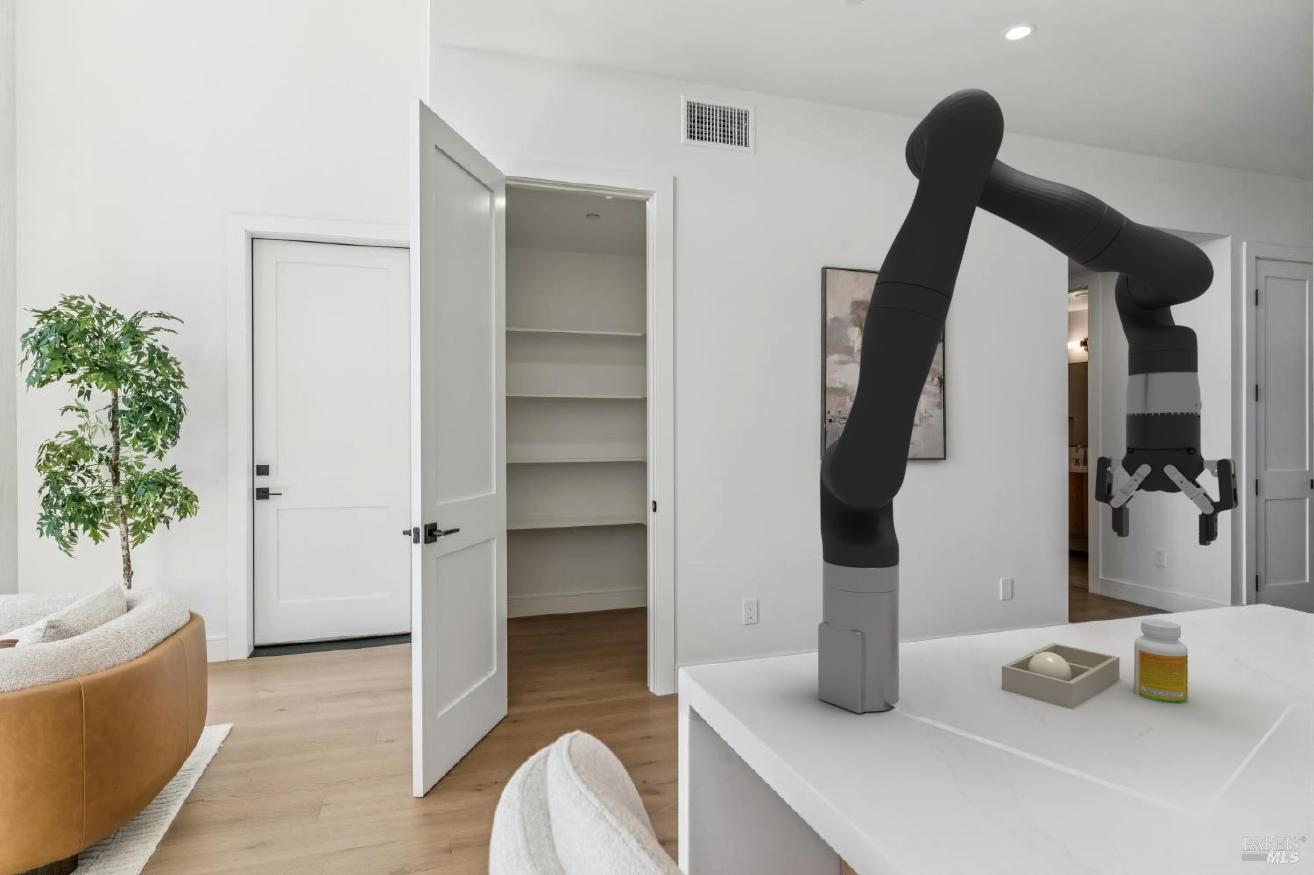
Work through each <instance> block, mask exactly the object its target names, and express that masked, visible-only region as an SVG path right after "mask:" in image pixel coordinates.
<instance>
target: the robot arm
mask: <svg viewBox="0 0 1314 875" xmlns="http://www.w3.org/2000/svg"><path fill="white" fill-rule="evenodd" d="M1004 121H1005V119H1004V116H1003V112H1002V108H1001V106H1000V104H999V103H998V101H997V100H996V98H995V97H994V96H992V95H991V94H990V93H989V92H988V91H985V90H984V89H980V88H973V87H972V88H964V89H960V90H957V91H956V92H953V93H952V94H949V95H948V96H946V97H945V98H944V99H942V100H940V101H939V102H938V103H937V104H935V106H934V107H932V109H931V110H930V111H929V113H928V114H927V115H925V117H924V118H923V119H922V120H921V121H920V122H919V123H918V124H917V125H916V127H915V128H914V129H913V131H912V132H911V133H910V135H909V137H908V139H907V141H906V144H905V149H904V150H905V154H904V155H905V161H906V165H907V167H908V170H909V171H910V173H911V174H912V176H914V177H915V178H916V179H917V180H918V184H917V188H916V192H915V194H914V198H913V201H912V202H911V206H910V207H909V208H910V209H909V211H908V213H907V215H906V216H905V219H904V220H903V223H902V225H901V226H900V229H899V230H898V232H897V233H896V236H895V238H894V239H893V241H892V244H891V245H890V248H889V250H888V252H887V254H886V255H885V258H884V260H883V262H882V264H881V267H880V268H879V272H878V274H877V278H876V280H875V283H874V286H873V290H872V294H871V297H870V301H869V304H868V308H867V310H866V311H867V312H866V316H865V320H864V323H863V324H864V325H863V329H862V330H863V331H862V338H861V347H860V358H859V360H860V361H859V374H858V375H859V376H858V383H857V388H856V390H855V391H856V392H855V395H854V399H853V403H852V404H851V408H850V411H849V412H848V413H849V414H848V417H847V419H846V422H845V425H844V427H843V430H842V433H841V434H840V437H839V438H838V439H836V440H834V441H833V442H832V443H831V444H830V445H829V446H828V447H827V449H825V452H824V454H823V455H822V458H821V461H820V468H819V470H820V471H819V506H820V511H819V513H820V515H819V516H820V518H819V519H820V536H821V545H822V546H821V547H822V622H819V623H818V627H817V632H818V633H817V634H818V635H817V640H818V641H817V643H818V644H817V646H818V648H817V653H818V654H817V661H818V662H817V667H818V669H817V677H818V678H817V687H818V688H817V692H818V693H817V694H818V695H817V697H818V699H819V700H822V701H824V702H827V703H829V704H833V705H835V706H837V707H840V708H843V709H845V710H848V711H851V712H854V713H856V714H857V713H858V714H861V713H864V712H865V713H866V712H881V711H887V710H891V709H893V708H895V706H893V705H895V704H897V703H898V702H899V700H900V544H899V540H898V536H897V533H896V529H895V522H894V498H895V497H896V496H897V494H898V493H899V491H900V490H901V488H902V486H903V484H904V480H905V476H906V471H907V465H908V459H909V453H910V447H911V441H912V435H913V430H914V424H915V418H916V414H917V409H918V406H919V402H920V398H921V395H922V393H923V390H924V387H925V384H926V381H927V378H928V376H929V373H930V370H931V368H932V366H933V365H932V364H933V362H934V358H935V356H936V353H937V350H938V347H939V346H938V345H939V344H940V340H941V337H942V334H943V331H944V328H945V325H946V320H947V317H948V314H949V311H950V310H949V309H950V307H951V302H952V301H953V300H952V299H953V296H954V291H955V287H956V284H957V279H958V277H959V276H958V275H959V272H960V268H961V265H962V260H963V257H964V254H965V250H966V247H967V242H968V238H969V234H970V230H971V226H972V223H973V219H974V215H975V212H976V209H977V208H978V209H981V210H984V211H985V212H988V213H990V214H992V215H994V216H997V217H999V218H1000V219H1003V220H1004V221H1007V222H1009V223H1010V224H1013V225H1015V226H1016V227H1018V228H1020V229H1022V230H1024V231H1025V232H1028V233H1029V234H1031V235H1032V236H1035V237H1036V238H1037V239H1039V240H1041V241H1043V242H1044V243H1046V244H1047V245H1049V246H1051V247H1052V248H1054V249H1055V250H1057V251H1058V252H1060V253H1061V254H1063V255H1064V256H1066V257H1067V258H1069V259H1070V260H1072V261H1074V262H1075V263H1077V264H1078V265H1080V266H1081V267H1083V268H1085V269H1087V270H1089V271H1091V272H1095V273H1119V274H1118V276H1117V279H1116V282H1115V286H1114V301H1115V304H1116V305H1115V306H1116V310H1117V313H1118V315H1119V319H1120V323H1121V327H1122V330H1123V333H1124V336H1125V338H1126V341H1127V344H1128V350H1127V351H1128V352H1127V362H1128V363H1127V366H1128V367H1127V374H1128V377H1127V386H1126V392H1125V450H1126V451H1125V455H1124V456H1123V458H1122V457H1112V456H1109V455H1108V456H1107V455H1106V456H1099V457H1098V458H1097V461H1096V475H1095V476H1096V477H1095V489H1094V493H1095V494H1094V499H1095V501H1097V502H1099V503H1100V502H1101V503H1103V504H1106V505H1108V506H1110V508H1111V529H1112V532H1113V533H1116V536H1117V537H1118V538H1127V537H1129V535H1130V508H1129V507H1127V506H1128V505H1129V503H1130V502H1131V501H1132V500H1133V499H1134V498H1135V497H1136V496H1137V495H1138V494H1139V493H1141V491H1142V490H1143V491H1145V492H1146V493H1147V492H1148V493H1153V492H1159V491H1160V492H1163V493H1168V494H1170V493H1171V494H1177V493H1178V494H1179V493H1181V492H1183V494H1185V496H1186V497H1187V498H1188V499H1190V500H1191V501H1192V502H1193V503H1194V505H1196V507H1198V509H1199V510H1200V511H1201V513H1200V514H1198V544H1199V546H1205V547H1206V546H1211V544H1212V542H1215V541H1216V540H1217V538H1218V530H1219V529H1218V522H1219V521H1218V515H1219V514H1220V513H1221V512H1224V511H1230V510H1233V509H1236V508H1238V506H1239V498H1238V497H1239V496H1238V495H1239V494H1238V485H1237V472H1236V470H1237V469H1236V462H1235V461H1234V459H1232V458H1227V457H1225V458H1221V459H1207V460H1206V459H1204V457H1203V455H1202V451H1201V450H1202V449H1201V448H1202V446H1201V444H1202V442H1201V441H1202V439H1201V436H1202V434H1201V432H1202V430H1201V428H1202V423H1201V421H1202V420H1201V419H1202V416H1201V414H1202V413H1201V411H1202V410H1203V409H1202V406H1203V405H1202V403H1203V402H1202V398H1201V386H1200V381H1199V374H1198V372H1199V357H1198V356H1199V352H1198V351H1199V346H1198V344H1199V343H1198V335H1197V333H1196V331H1195V330H1194V329H1193V328H1192V327H1189V326H1185V325H1181V324H1176V323H1175V320H1174V317H1173V314H1172V310H1171V307H1173V306H1177V305H1181V304H1186V303H1188V302H1191V301H1193V300H1196V299H1198V298H1200V297H1201V296H1203V295H1204V294H1205V293H1206V292H1207V291H1208V290H1209V289H1210V287H1211V285H1212V283H1213V280H1214V276H1215V272H1214V267H1213V264H1212V261H1211V259H1210V257H1209V256H1208V255H1207V254H1206V252H1204V250H1202V249H1201V248H1200V247H1199V246H1197V245H1196V244H1195V243H1193V242H1191V241H1189V240H1187V239H1184V238H1182V237H1180V236H1177V235H1175V234H1171V233H1169V232H1166V231H1163V230H1160V229H1157V228H1155V227H1152V226H1150V225H1149V226H1148V225H1145V224H1141V223H1139V222H1135V221H1133V220H1131V219H1130V218H1129V217H1127V216H1126V215H1124V214H1123V213H1121V212H1119V211H1118V210H1117V209H1116V208H1113V207H1112V206H1111V205H1109V204H1108V203H1106V202H1105V201H1102V200H1101V199H1100V198H1098V197H1096V196H1094V195H1092V194H1091V193H1089V192H1086V191H1084V190H1082V189H1079V188H1077V187H1073V186H1070V185H1067V184H1064V183H1060V182H1055V181H1052V180H1048V179H1046V178H1041V177H1038V176H1035V175H1031V174H1030V173H1029V174H1028V173H1025V172H1023V171H1021V170H1018V169H1016V168H1014V167H1012V166H1010V165H1008V164H1006V163H1005V162H1003V161H1002V160H1000V159H998V158H997V157H998V155H999V151H1000V148H1001V146H1002V143H1003V138H1004V131H1005V122H1004ZM1121 467H1122V468H1123V469H1124V471H1125V472H1126V473H1127V474H1128V475H1129V477H1130V478H1129V479H1128V480H1127V481H1126V482H1125V484H1123V485H1122V487H1121V488H1120V490H1119V491H1118V492H1117V493H1116V495H1115V494H1113V485H1114V474H1117V473H1118V472H1119V470H1120V468H1121ZM1205 469H1206V470H1209V472H1210V474H1211V476H1212V477H1214V478H1217V484H1218V497H1219V500H1218V501H1216V500H1214V499H1213V498H1212V497H1211V496H1210V494H1208V491H1207V490H1206V489H1205V488H1204V486H1202V485H1201V483H1200V482H1199V481H1198V480H1197V479H1198V477H1199V476H1200V475H1201V474H1202V473H1203V472H1204V471H1205Z"/></svg>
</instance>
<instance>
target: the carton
mask: <svg viewBox="0 0 1314 875" xmlns="http://www.w3.org/2000/svg"><path fill="white" fill-rule="evenodd" d="M1042 652H1051V653H1055V654H1057V655H1059V656H1061V657H1062V658H1063V659H1065V661H1066V662H1067V663H1068V664H1069V666H1070V669H1071V673H1072V676H1071V681H1069V682H1068V681H1064V680H1060V679H1056V678H1053V677H1049V676H1045V675H1041V674H1037V673H1033V672H1029V671H1028V666H1029V662H1030V660H1031V659H1032V658H1033V657H1034V656H1035V655H1037V654H1039V653H1042ZM1120 664H1121V662H1120V657H1119V656H1117V655H1116V656H1115V655H1110V654H1105V653H1102V652H1101V653H1100V652H1096V651H1093V650H1088V649H1083V648H1078V647H1074V646H1070V645H1069V646H1068V645H1064V644H1060V643H1055V642H1052V643H1050V644H1048V645H1046V646H1043V647H1041V648H1039V649H1037V650H1034V651H1032V652H1030V653H1027V654H1025V655H1023V656H1021V657H1019V658H1017V659H1014V660H1012V661H1009V662H1007V663H1006V664H1003V665H1001V689H1002V690H1005V691H1008V692H1011V693H1014V694H1019V695H1022V696H1025V697H1029V698H1031V699H1034V700H1035V699H1036V700H1039V701H1043V702H1047V703H1048V704H1049V703H1050V704H1052V705H1056V706H1060V707H1065V708H1067V709H1071V710H1073V709H1075V708H1076V707H1077V706H1079V705H1080V704H1083V703H1084V702H1085V701H1087V700H1089V699H1090V698H1092V697H1093V696H1095V695H1097V694H1098V693H1100V692H1101V691H1103V690H1104V689H1106V688H1108V687H1110V686H1112V685H1113V684H1115V683H1117V682H1118V681H1120Z"/></svg>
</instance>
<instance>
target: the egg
mask: <svg viewBox="0 0 1314 875" xmlns="http://www.w3.org/2000/svg"><path fill="white" fill-rule="evenodd" d="M1028 671H1029V672H1033V673H1037V674H1041V675H1045V676H1049V677H1053V678H1056V679H1060V680H1064V681H1068V682H1069V681H1071V676H1072V673H1071V669H1070V666H1069V664H1068V663H1067V662H1066V661H1065V659H1063V658H1062V657H1061V656H1059V655H1057V654H1055V653H1051V652H1042V653H1039V654H1037V655H1035V656H1034V657H1033V658H1032V659H1031V660H1030V662H1029V666H1028Z"/></svg>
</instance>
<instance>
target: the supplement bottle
mask: <svg viewBox="0 0 1314 875" xmlns="http://www.w3.org/2000/svg"><path fill="white" fill-rule="evenodd" d="M1181 630H1182V628H1181V625H1180V624H1179V623H1176V622H1172V621H1168V620H1164V619H1163V620H1162V619H1154V618H1151V619H1150V618H1147V619H1142V620H1141V623H1140V631H1141V633H1142V634H1143V635H1141V636H1138V637H1136V638H1135V640H1134V646H1133V647H1134V649H1133V650H1134V653H1133V654H1134V655H1133V656H1134V659H1133V660H1134V665H1133V666H1134V668H1133V669H1134V671H1133V672H1134V674H1133V675H1134V676H1133V678H1134V679H1133V680H1134V681H1133V682H1134V683H1133V687H1134V688H1133V689H1134V690H1133V691H1134V694H1135V695H1137V696H1138V697H1140V698H1142V699H1145V700H1147V701H1151V702H1153V703H1158V704H1165V705H1176V706H1177V705H1178V706H1179V705H1186V704H1187V703H1188V702H1189V688H1188V687H1189V686H1188V684H1189V681H1188V680H1189V674H1188V673H1189V671H1188V670H1189V669H1188V667H1189V666H1188V665H1189V664H1188V663H1189V659H1188V658H1189V655H1188V654H1189V653H1188V652H1189V650H1188V648H1187V647H1188V646H1187V645H1186V644H1184V643H1183V642H1181V641H1180V640H1179V639H1180V638H1181V637H1182V636H1181V635H1182V634H1181V633H1182V632H1181Z"/></svg>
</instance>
